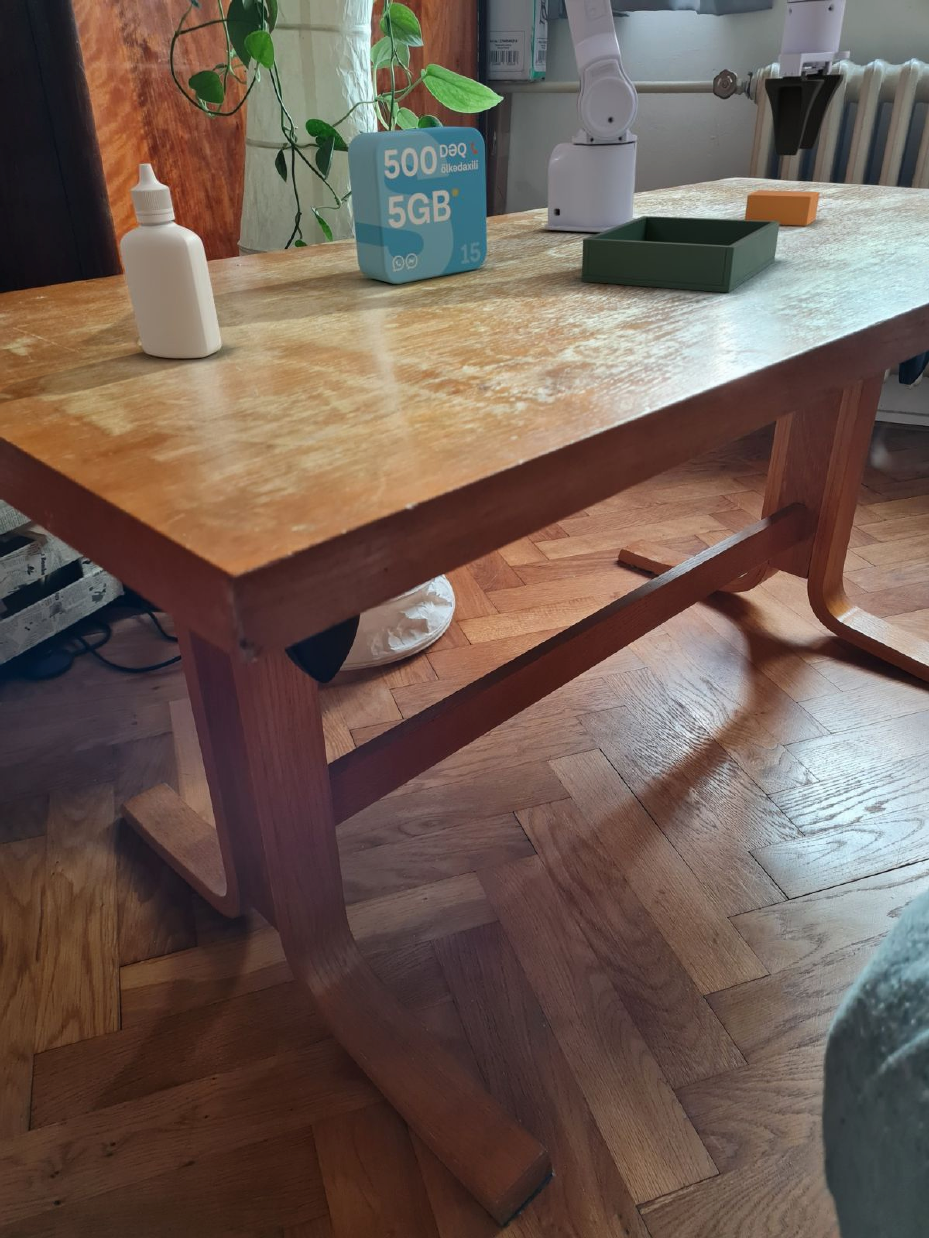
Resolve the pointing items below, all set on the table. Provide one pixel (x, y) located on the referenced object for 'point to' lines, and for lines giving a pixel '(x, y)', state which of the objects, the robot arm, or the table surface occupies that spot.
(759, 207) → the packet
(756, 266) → the bin
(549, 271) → the table surface
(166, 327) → the eye dropper bottle
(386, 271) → the data package
